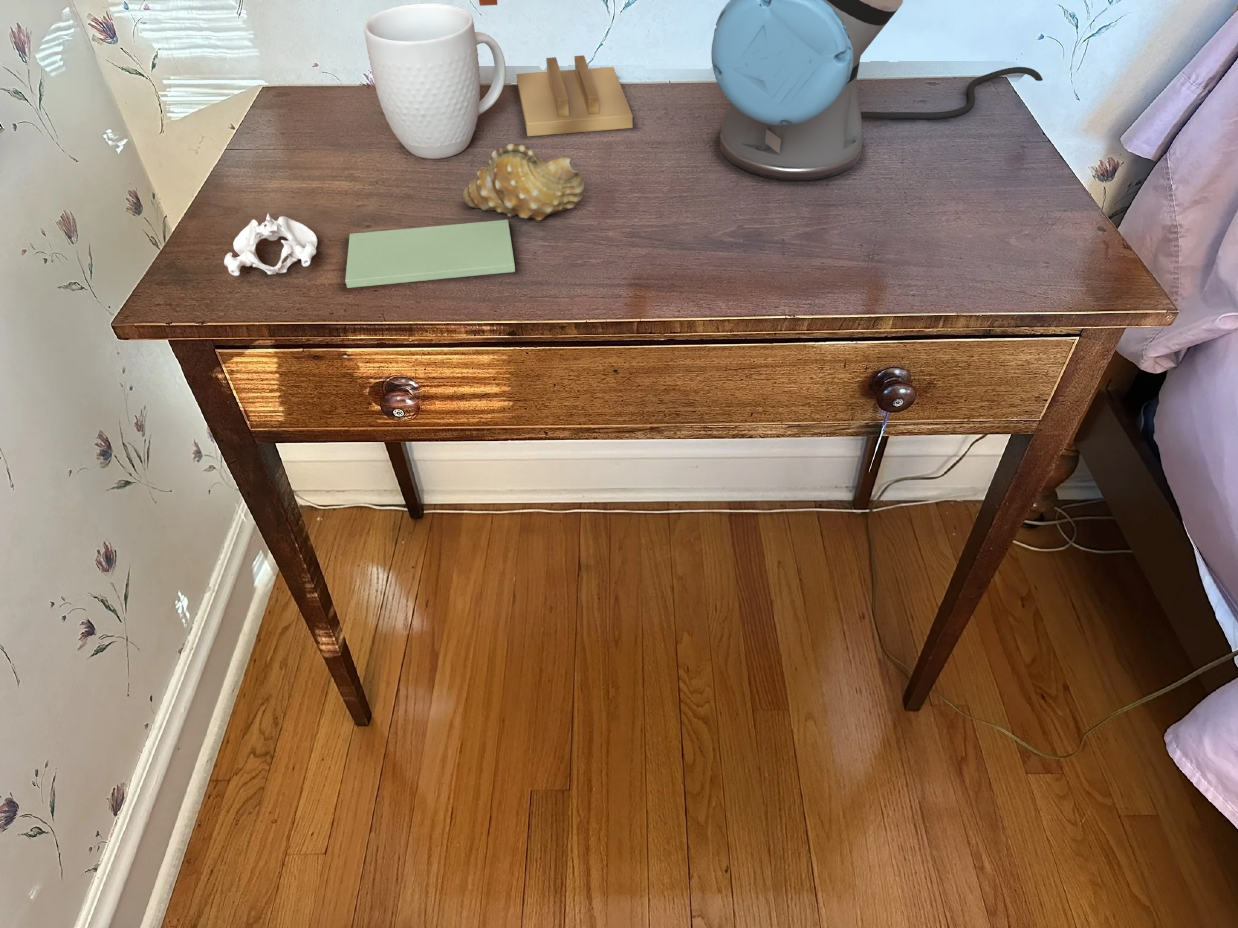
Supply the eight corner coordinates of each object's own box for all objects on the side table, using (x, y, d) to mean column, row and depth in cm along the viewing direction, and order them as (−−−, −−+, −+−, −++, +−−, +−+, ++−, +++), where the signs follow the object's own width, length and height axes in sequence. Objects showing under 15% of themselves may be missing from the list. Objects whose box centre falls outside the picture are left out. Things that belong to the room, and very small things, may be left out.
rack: (613, 79, 112) (613, 50, 109) (632, 128, 102) (632, 97, 99) (517, 86, 110) (514, 57, 108) (527, 136, 101) (524, 106, 98)
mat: (508, 226, 87) (508, 219, 86) (515, 272, 81) (514, 264, 81) (351, 241, 85) (349, 233, 85) (347, 288, 80) (345, 280, 79)
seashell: (570, 191, 93) (488, 243, 92) (531, 118, 89) (445, 171, 88) (597, 201, 85) (508, 257, 84) (556, 121, 81) (462, 179, 80)
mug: (482, 106, 106) (468, -13, 97) (536, 138, 100) (526, 14, 91) (369, 143, 100) (343, 19, 90) (420, 180, 94) (397, 51, 84)
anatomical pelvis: (215, 254, 77) (220, 210, 81) (231, 293, 80) (236, 248, 84) (310, 243, 78) (311, 199, 82) (322, 281, 81) (323, 238, 85)
